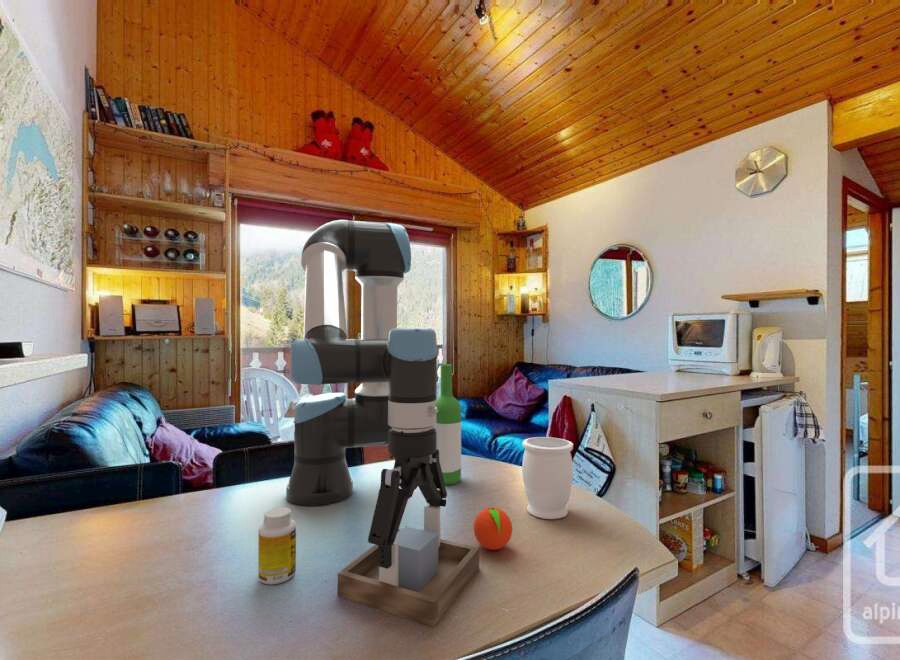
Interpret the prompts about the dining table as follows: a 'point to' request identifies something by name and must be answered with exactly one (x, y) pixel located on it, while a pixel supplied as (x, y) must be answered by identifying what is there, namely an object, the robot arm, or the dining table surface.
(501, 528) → the clementine
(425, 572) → the grey cube
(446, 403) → the wine bottle
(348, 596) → the walnut tray
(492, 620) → the dining table surface
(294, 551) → the supplement bottle
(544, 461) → the jar
